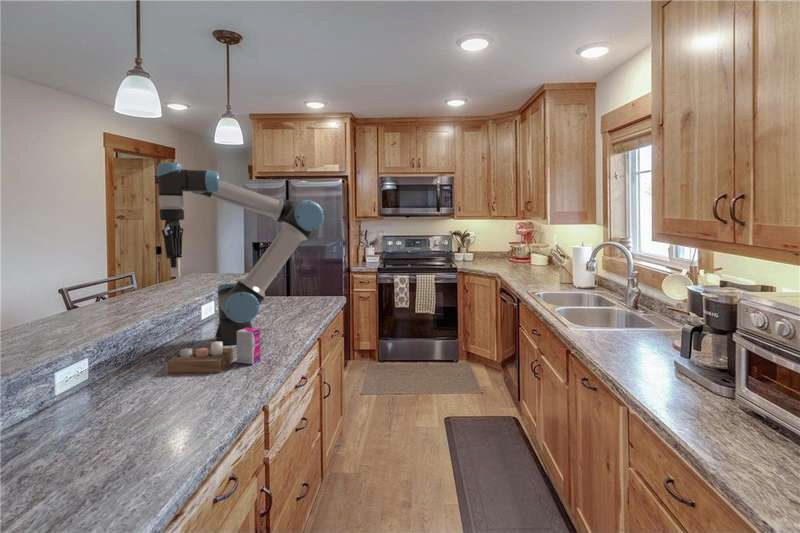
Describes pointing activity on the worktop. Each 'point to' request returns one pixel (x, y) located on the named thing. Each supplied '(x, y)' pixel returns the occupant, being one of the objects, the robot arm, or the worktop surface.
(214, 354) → the white egg
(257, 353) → the supplement box
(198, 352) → the brown egg
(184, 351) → the pale blue egg
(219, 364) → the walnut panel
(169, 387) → the worktop surface
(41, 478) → the worktop surface
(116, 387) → the worktop surface
